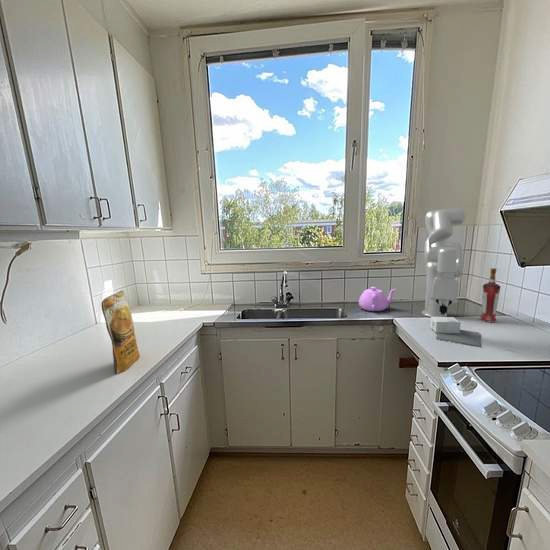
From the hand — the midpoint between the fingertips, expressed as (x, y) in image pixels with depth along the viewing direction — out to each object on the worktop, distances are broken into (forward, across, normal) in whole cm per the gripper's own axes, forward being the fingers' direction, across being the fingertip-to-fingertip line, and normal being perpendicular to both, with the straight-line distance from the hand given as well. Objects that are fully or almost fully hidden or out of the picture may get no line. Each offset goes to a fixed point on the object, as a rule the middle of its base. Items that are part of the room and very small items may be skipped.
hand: (443, 313), depth 134 cm
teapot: (+10, +38, -26) cm, 47 cm away
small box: (+6, +4, -1) cm, 8 cm away
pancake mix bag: (+10, +98, +100) cm, 140 cm away
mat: (+10, -7, +1) cm, 12 cm away
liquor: (+10, -18, -33) cm, 39 cm away
